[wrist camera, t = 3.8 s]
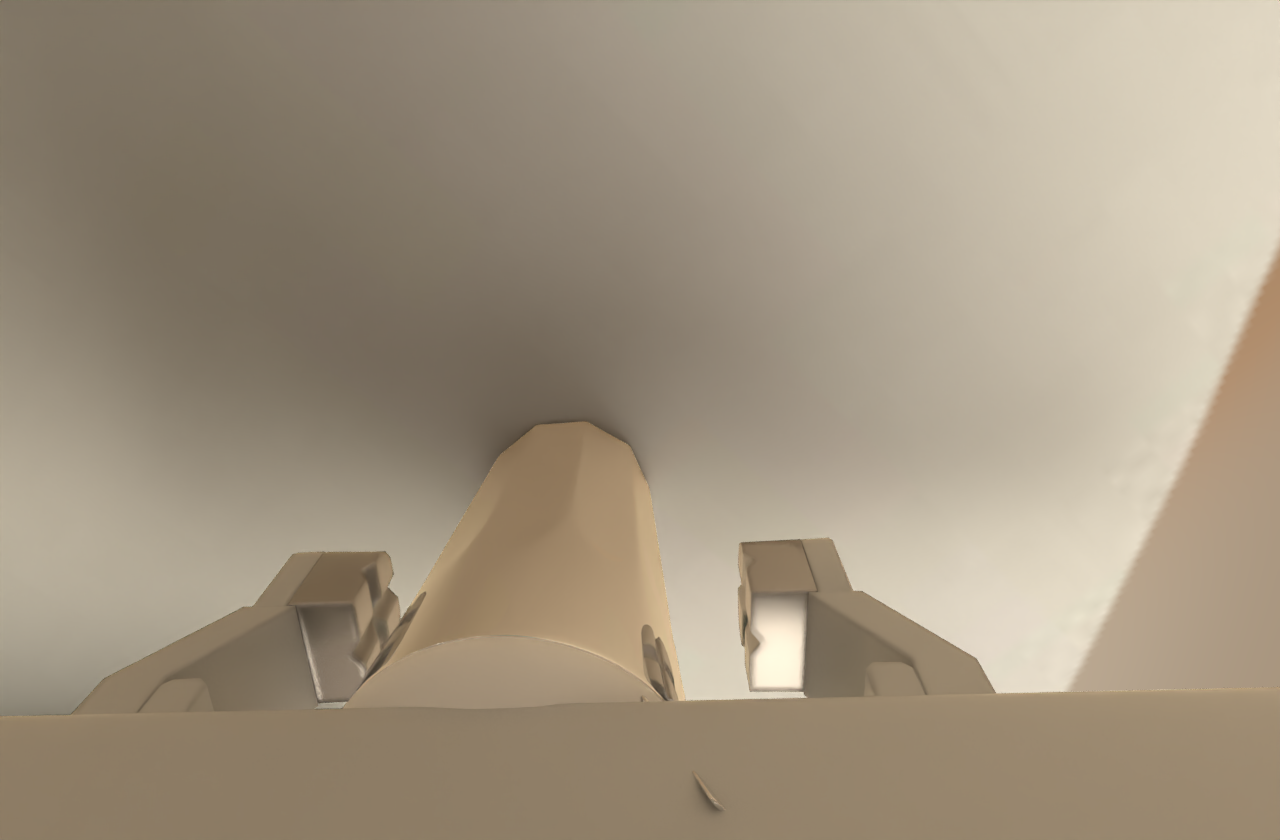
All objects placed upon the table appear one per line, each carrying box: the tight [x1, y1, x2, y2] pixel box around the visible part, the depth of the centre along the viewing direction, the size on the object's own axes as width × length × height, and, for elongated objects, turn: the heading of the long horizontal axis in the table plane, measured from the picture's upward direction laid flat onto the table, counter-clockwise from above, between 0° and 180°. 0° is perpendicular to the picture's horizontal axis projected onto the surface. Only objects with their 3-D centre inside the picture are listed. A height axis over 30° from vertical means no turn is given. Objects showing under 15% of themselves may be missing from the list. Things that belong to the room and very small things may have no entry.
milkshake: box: [343, 421, 726, 811], centre depth 12 cm, size 5×5×10 cm
